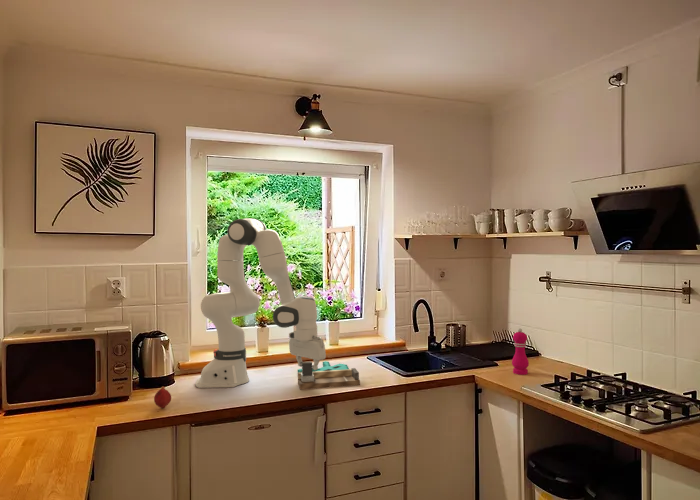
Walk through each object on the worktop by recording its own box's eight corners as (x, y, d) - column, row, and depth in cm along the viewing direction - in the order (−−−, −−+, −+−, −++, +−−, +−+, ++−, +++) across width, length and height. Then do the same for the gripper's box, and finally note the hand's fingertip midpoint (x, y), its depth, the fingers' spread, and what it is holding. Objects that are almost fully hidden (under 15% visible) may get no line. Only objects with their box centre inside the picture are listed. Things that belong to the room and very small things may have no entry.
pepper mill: (511, 374, 230) (510, 329, 229) (512, 370, 236) (512, 326, 236) (528, 375, 227) (528, 330, 227) (529, 371, 234) (528, 327, 233)
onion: (161, 412, 186) (160, 389, 186) (151, 409, 189) (150, 387, 189) (174, 407, 191) (174, 385, 191) (164, 405, 194) (163, 383, 194)
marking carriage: (301, 382, 214) (301, 364, 214) (300, 378, 220) (300, 361, 220) (315, 381, 215) (315, 363, 215) (313, 377, 221) (313, 360, 221)
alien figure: (297, 374, 237) (331, 381, 225) (297, 369, 237) (331, 376, 225) (325, 365, 253) (358, 371, 241) (325, 361, 253) (358, 366, 241)
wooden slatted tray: (300, 389, 212) (299, 377, 212) (297, 382, 222) (297, 371, 222) (360, 385, 217) (359, 373, 216) (355, 378, 226) (354, 367, 226)
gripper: (328, 336, 212) (329, 370, 212) (298, 331, 226) (299, 363, 227) (316, 338, 207) (317, 373, 207) (286, 333, 222) (287, 365, 222)
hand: (307, 367), depth 217 cm, fingers open, 8 cm apart
